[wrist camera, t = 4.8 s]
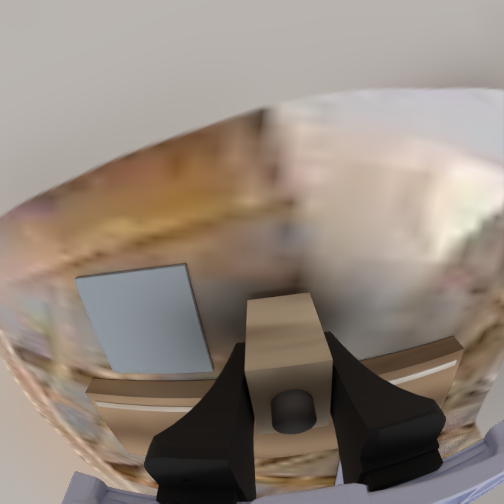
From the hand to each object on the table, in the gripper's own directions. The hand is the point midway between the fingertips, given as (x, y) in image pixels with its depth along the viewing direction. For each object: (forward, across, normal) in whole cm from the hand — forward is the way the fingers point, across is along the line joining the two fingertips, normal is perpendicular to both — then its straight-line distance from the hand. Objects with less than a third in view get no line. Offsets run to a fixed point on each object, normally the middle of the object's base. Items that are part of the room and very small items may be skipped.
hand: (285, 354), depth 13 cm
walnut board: (+3, +1, +8) cm, 9 cm away
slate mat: (+3, +8, 0) cm, 8 cm away
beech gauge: (+2, 0, 0) cm, 2 cm away
